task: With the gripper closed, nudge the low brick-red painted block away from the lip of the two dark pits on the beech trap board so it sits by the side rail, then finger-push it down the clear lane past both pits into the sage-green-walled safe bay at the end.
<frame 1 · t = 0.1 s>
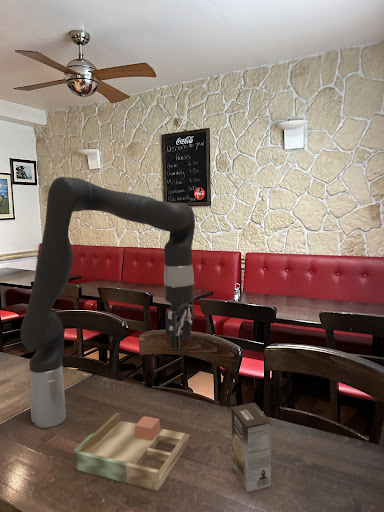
hand: (181, 343, 100), 29 cm above the table, fingers open, 8 cm apart
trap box: (140, 455, 100), on the table
coffee box: (251, 477, 91), on the table
block: (148, 434, 107), point 2 cm above the table, touching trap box
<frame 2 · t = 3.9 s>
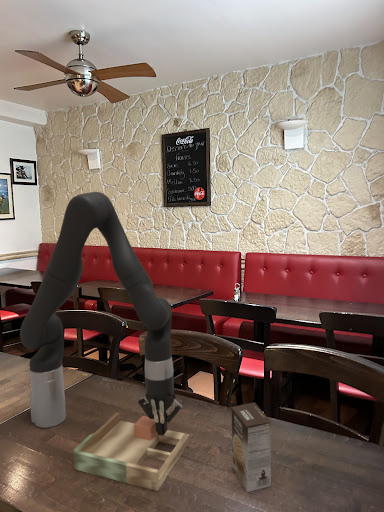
hand: (161, 433, 105), 3 cm above the table, fingers closed
block: (146, 433, 107), point 2 cm above the table, touching gripper, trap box
everything else where it was.
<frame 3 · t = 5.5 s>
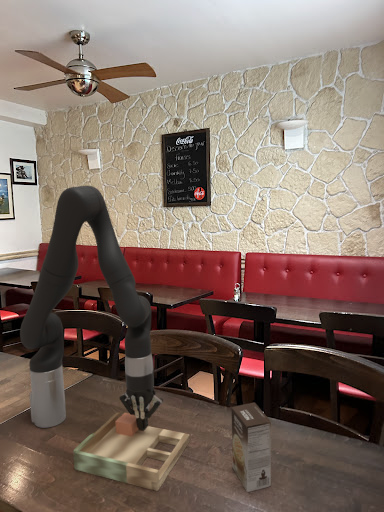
hand: (142, 429, 107), 3 cm above the table, fingers closed
block: (128, 429, 109), point 2 cm above the table, touching gripper, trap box
everything else where it was.
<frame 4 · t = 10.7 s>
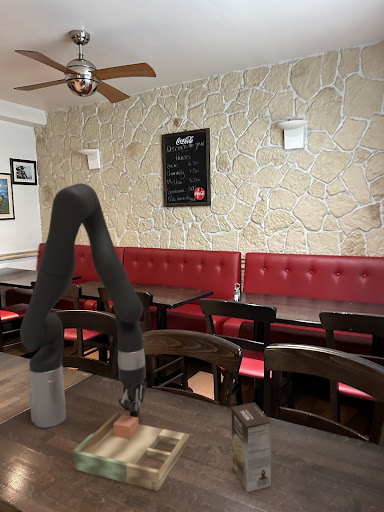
hand: (135, 420, 112), 3 cm above the table, fingers closed
block: (126, 432, 108), point 2 cm above the table, touching gripper, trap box
everything else where it was.
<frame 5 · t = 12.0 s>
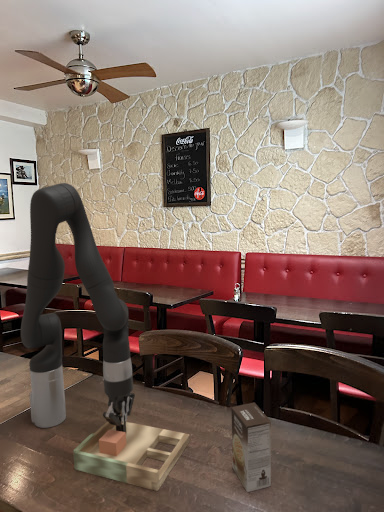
hand: (121, 434, 105), 3 cm above the table, fingers closed
block: (113, 448, 101), point 2 cm above the table, touching gripper, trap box
everything else where it was.
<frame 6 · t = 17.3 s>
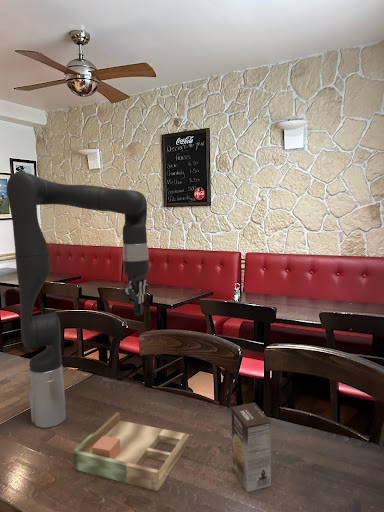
hand: (138, 314, 117), 32 cm above the table, fingers closed
block: (106, 455, 98), point 2 cm above the table, touching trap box
everything else where it was.
at the end: block inside the target area on the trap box (0.3 cm from its centre), point 2.0 cm above the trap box's base; block tilted 0° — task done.
